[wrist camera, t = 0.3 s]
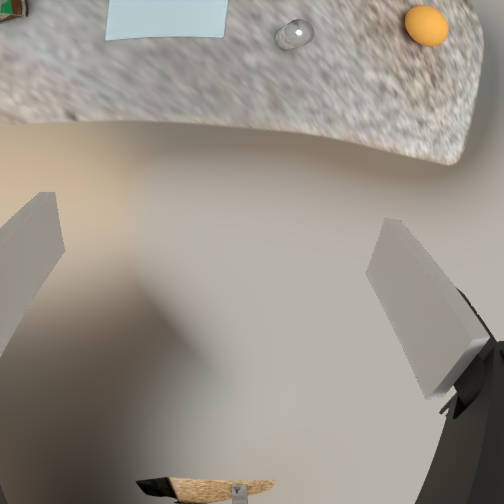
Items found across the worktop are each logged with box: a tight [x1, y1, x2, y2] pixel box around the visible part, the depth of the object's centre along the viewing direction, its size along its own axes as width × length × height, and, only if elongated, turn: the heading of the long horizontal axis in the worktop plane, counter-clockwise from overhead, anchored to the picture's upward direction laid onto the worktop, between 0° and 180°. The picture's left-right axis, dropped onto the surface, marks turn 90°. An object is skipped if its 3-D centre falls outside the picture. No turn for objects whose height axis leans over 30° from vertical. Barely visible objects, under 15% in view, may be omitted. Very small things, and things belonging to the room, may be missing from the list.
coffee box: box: [232, 485, 248, 504], centre depth 103 cm, size 9×6×16 cm
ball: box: [405, 5, 449, 46], centre depth 26 cm, size 6×6×6 cm
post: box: [275, 19, 314, 49], centre depth 27 cm, size 3×3×8 cm
